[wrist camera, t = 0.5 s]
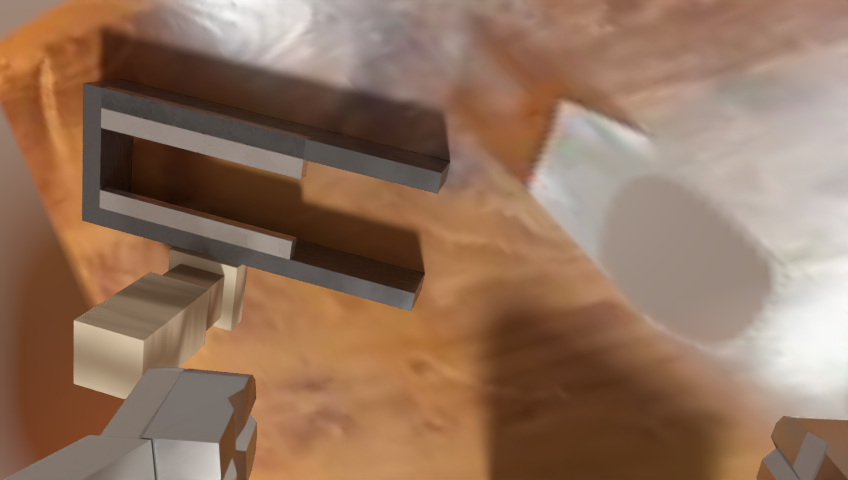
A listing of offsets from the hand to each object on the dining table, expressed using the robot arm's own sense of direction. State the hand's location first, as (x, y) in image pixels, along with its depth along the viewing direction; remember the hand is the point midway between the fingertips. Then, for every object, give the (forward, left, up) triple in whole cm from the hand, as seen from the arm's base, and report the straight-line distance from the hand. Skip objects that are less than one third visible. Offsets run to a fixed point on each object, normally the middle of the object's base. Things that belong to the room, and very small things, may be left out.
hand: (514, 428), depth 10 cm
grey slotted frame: (+11, -19, -38) cm, 43 cm away
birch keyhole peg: (+21, -24, -38) cm, 49 cm away
